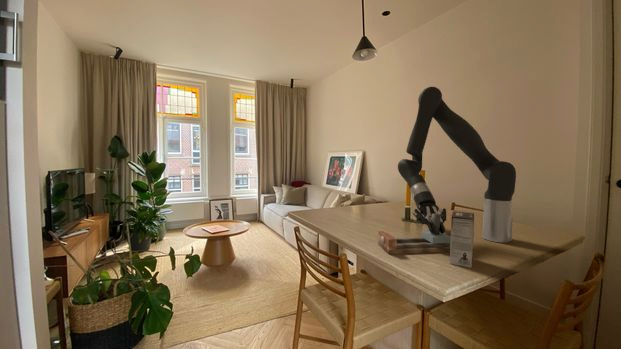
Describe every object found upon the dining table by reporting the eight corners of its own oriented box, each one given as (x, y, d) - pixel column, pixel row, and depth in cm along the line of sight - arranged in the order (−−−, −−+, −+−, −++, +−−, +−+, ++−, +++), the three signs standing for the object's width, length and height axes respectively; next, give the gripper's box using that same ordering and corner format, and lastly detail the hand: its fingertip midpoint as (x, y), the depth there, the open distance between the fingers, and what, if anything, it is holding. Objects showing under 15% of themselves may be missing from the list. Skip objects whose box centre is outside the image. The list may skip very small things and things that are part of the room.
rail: (449, 241, 102) (449, 228, 101) (466, 251, 92) (467, 236, 91) (377, 244, 99) (377, 231, 98) (387, 254, 89) (387, 239, 88)
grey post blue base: (437, 236, 100) (438, 211, 99) (450, 242, 92) (451, 216, 91) (421, 236, 99) (421, 212, 99) (432, 243, 91) (433, 217, 91)
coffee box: (450, 254, 89) (452, 210, 88) (471, 258, 85) (474, 212, 84) (449, 264, 81) (451, 215, 80) (472, 268, 78) (475, 218, 76)
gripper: (409, 190, 101) (425, 228, 90) (441, 190, 102) (461, 227, 91) (403, 201, 107) (417, 237, 96) (434, 200, 108) (451, 236, 97)
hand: (438, 232), depth 93 cm, fingers closed on grey post blue base, 3 cm apart
